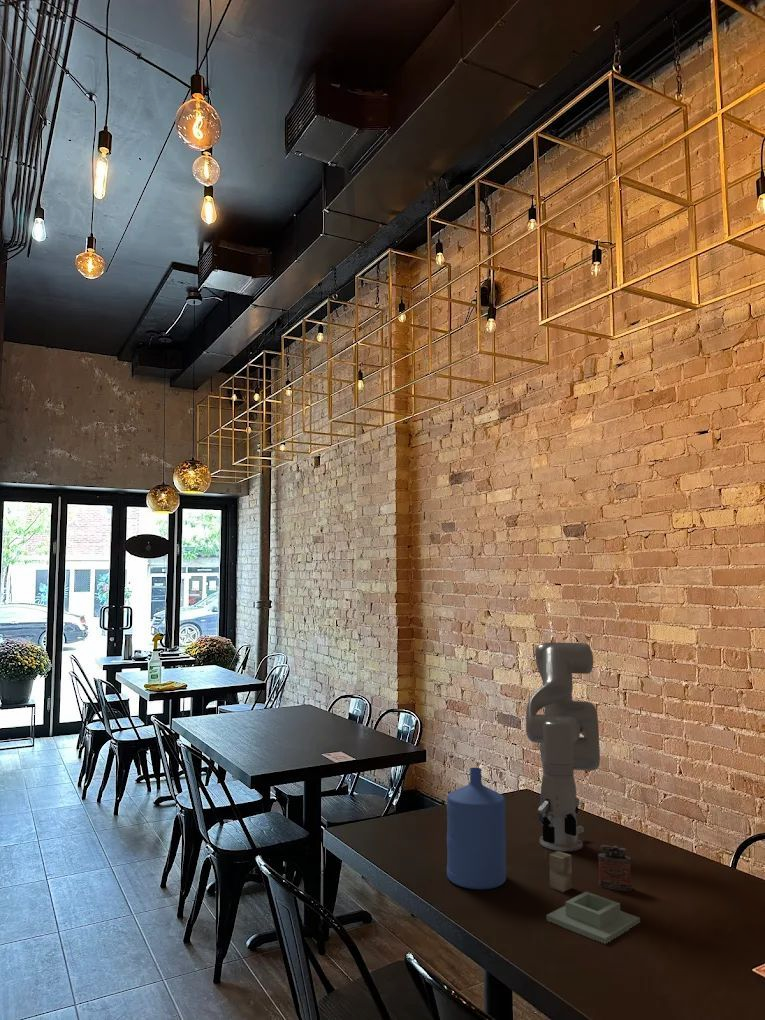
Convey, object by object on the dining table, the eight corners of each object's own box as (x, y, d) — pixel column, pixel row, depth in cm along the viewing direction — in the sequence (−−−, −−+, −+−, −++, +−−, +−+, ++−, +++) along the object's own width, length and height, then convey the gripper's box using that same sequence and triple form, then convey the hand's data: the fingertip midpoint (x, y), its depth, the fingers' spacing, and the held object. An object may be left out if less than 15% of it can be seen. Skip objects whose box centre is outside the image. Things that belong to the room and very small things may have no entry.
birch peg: (558, 883, 185) (558, 850, 186) (572, 887, 182) (571, 855, 183) (549, 887, 183) (549, 854, 184) (563, 892, 180) (562, 858, 181)
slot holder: (582, 902, 174) (582, 884, 174) (640, 923, 163) (639, 903, 163) (546, 920, 164) (546, 901, 164) (605, 944, 153) (604, 923, 153)
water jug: (505, 893, 179) (504, 778, 182) (443, 887, 182) (443, 774, 185) (507, 870, 194) (506, 763, 197) (450, 865, 197) (449, 760, 200)
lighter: (631, 886, 183) (630, 846, 185) (631, 891, 180) (630, 850, 181) (599, 882, 186) (598, 842, 187) (598, 887, 183) (597, 846, 184)
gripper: (564, 762, 194) (566, 828, 192) (526, 771, 183) (527, 841, 180) (589, 767, 189) (591, 835, 186) (551, 776, 177) (552, 849, 175)
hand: (559, 838), depth 183 cm, fingers open, 9 cm apart
